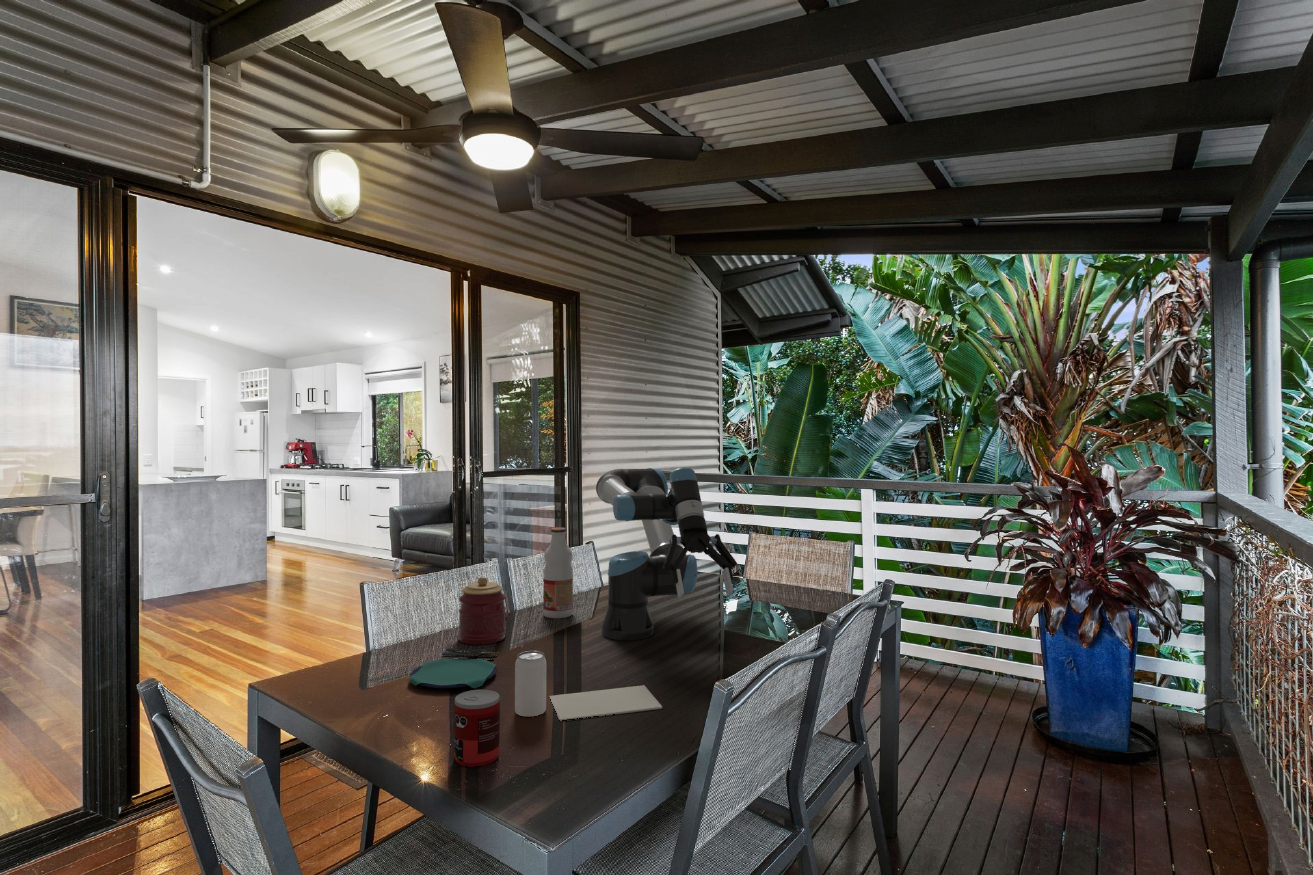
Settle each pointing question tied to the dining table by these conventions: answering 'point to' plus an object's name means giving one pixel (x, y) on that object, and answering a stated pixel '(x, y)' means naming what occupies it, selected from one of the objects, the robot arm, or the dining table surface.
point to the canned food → (476, 727)
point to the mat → (604, 702)
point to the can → (530, 683)
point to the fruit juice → (558, 577)
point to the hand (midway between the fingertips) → (705, 594)
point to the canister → (482, 613)
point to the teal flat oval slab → (454, 671)
